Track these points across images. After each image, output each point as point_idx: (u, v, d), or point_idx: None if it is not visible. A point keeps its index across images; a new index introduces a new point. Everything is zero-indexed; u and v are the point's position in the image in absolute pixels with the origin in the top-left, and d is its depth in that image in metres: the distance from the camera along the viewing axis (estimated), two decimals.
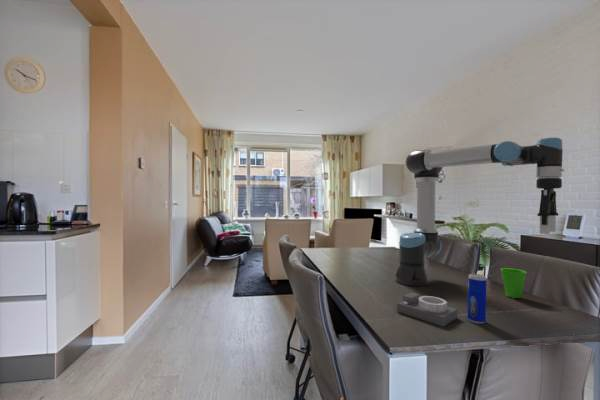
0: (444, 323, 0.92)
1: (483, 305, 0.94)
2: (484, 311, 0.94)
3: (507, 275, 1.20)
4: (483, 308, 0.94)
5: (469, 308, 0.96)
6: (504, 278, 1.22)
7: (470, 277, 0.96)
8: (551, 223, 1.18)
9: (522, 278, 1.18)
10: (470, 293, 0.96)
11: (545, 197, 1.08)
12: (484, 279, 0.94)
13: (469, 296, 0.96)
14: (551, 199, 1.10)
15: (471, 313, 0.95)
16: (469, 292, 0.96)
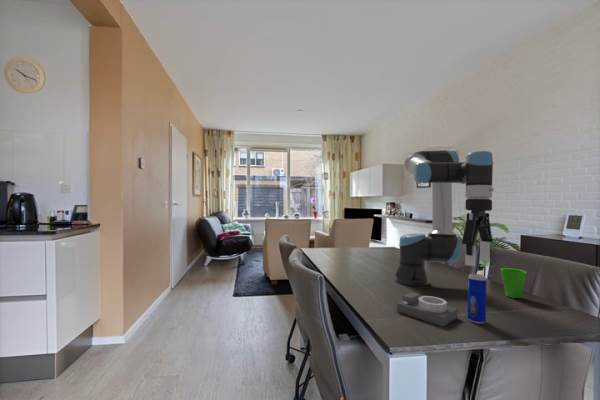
0: (444, 323, 0.92)
1: (483, 305, 0.94)
2: (484, 311, 0.94)
3: (507, 275, 1.20)
4: (483, 308, 0.94)
5: (469, 308, 0.96)
6: (504, 278, 1.22)
7: (470, 277, 0.96)
8: (484, 251, 1.00)
9: (522, 278, 1.18)
10: (470, 293, 0.96)
11: (470, 222, 0.91)
12: (484, 279, 0.94)
13: (469, 296, 0.96)
14: (479, 224, 0.93)
15: (471, 313, 0.95)
16: (469, 292, 0.96)
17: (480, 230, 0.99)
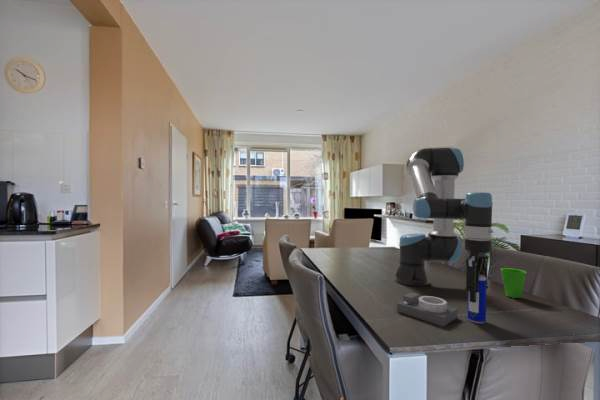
0: (444, 323, 0.92)
1: (483, 305, 0.94)
2: (484, 311, 0.94)
3: (507, 275, 1.20)
4: (483, 308, 0.94)
5: None
6: (504, 278, 1.22)
7: None
8: None
9: (522, 278, 1.18)
10: None
11: (471, 269, 0.92)
12: (484, 279, 0.94)
13: None
14: (479, 268, 0.93)
15: (471, 313, 0.95)
16: None
17: None
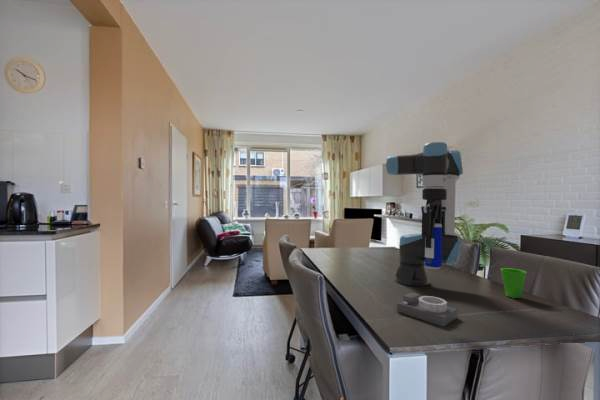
0: (444, 323, 0.92)
1: (438, 251, 0.97)
2: (439, 257, 0.97)
3: (507, 275, 1.20)
4: (438, 254, 0.97)
5: None
6: (504, 278, 1.22)
7: None
8: None
9: (522, 278, 1.18)
10: None
11: (425, 216, 0.95)
12: (439, 226, 0.97)
13: None
14: (434, 215, 0.96)
15: (428, 260, 0.98)
16: None
17: (434, 222, 1.01)
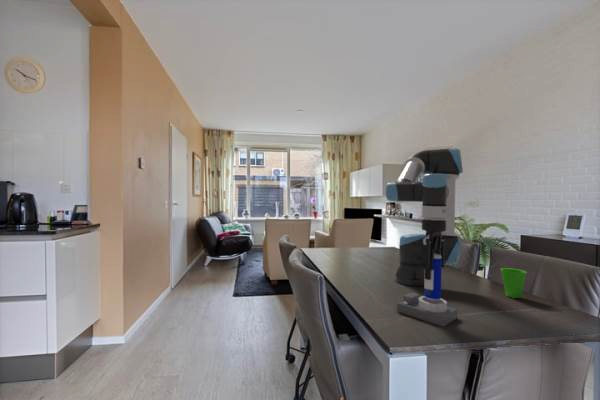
0: (444, 323, 0.92)
1: (438, 282, 0.97)
2: (439, 288, 0.97)
3: (507, 275, 1.20)
4: (438, 285, 0.97)
5: None
6: (504, 278, 1.22)
7: None
8: None
9: (522, 278, 1.18)
10: None
11: (425, 248, 0.95)
12: (439, 258, 0.97)
13: None
14: (433, 247, 0.96)
15: (427, 291, 0.98)
16: None
17: (434, 252, 1.01)
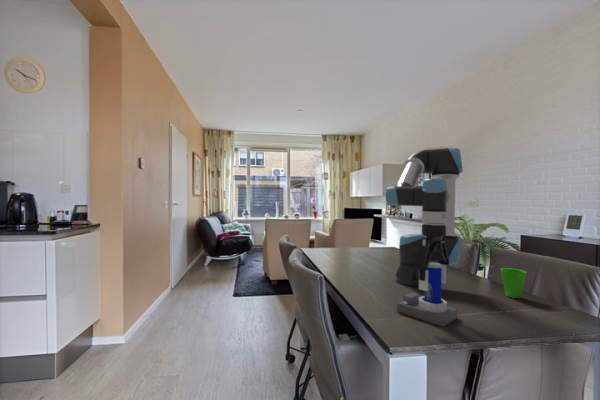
0: (444, 323, 0.92)
1: (438, 292, 0.97)
2: (439, 298, 0.97)
3: (507, 275, 1.20)
4: (438, 295, 0.97)
5: (425, 295, 0.99)
6: (504, 278, 1.22)
7: None
8: None
9: (522, 278, 1.18)
10: None
11: (423, 248, 0.94)
12: (439, 267, 0.97)
13: None
14: (432, 250, 0.96)
15: (427, 300, 0.98)
16: None
17: (436, 254, 1.02)
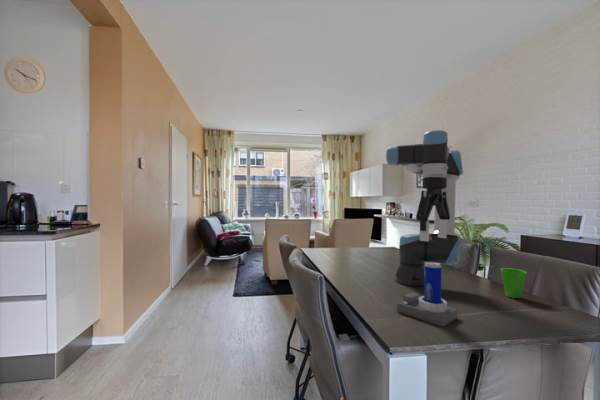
0: (444, 323, 0.92)
1: (438, 292, 0.97)
2: (439, 298, 0.97)
3: (507, 275, 1.20)
4: (438, 295, 0.97)
5: (425, 295, 0.99)
6: (504, 278, 1.22)
7: (426, 265, 0.99)
8: (442, 228, 1.03)
9: (522, 278, 1.18)
10: (426, 280, 0.99)
11: (424, 199, 0.94)
12: (438, 267, 0.97)
13: (425, 283, 0.99)
14: (433, 201, 0.96)
15: (427, 300, 0.98)
16: (425, 280, 0.99)
17: (437, 208, 1.03)
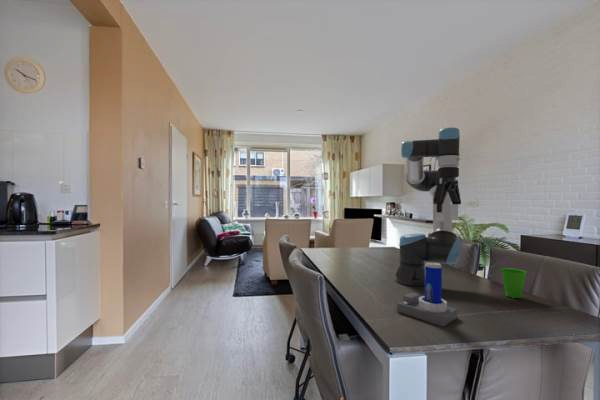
0: (444, 323, 0.92)
1: (438, 292, 0.97)
2: (439, 298, 0.97)
3: (507, 275, 1.20)
4: (438, 295, 0.97)
5: (425, 295, 0.99)
6: (504, 278, 1.22)
7: (426, 265, 0.99)
8: (454, 212, 1.20)
9: (522, 278, 1.18)
10: (426, 280, 0.99)
11: (440, 185, 1.11)
12: (439, 267, 0.97)
13: (425, 284, 0.99)
14: (447, 187, 1.13)
15: (427, 300, 0.98)
16: (425, 280, 0.99)
17: (450, 194, 1.19)
